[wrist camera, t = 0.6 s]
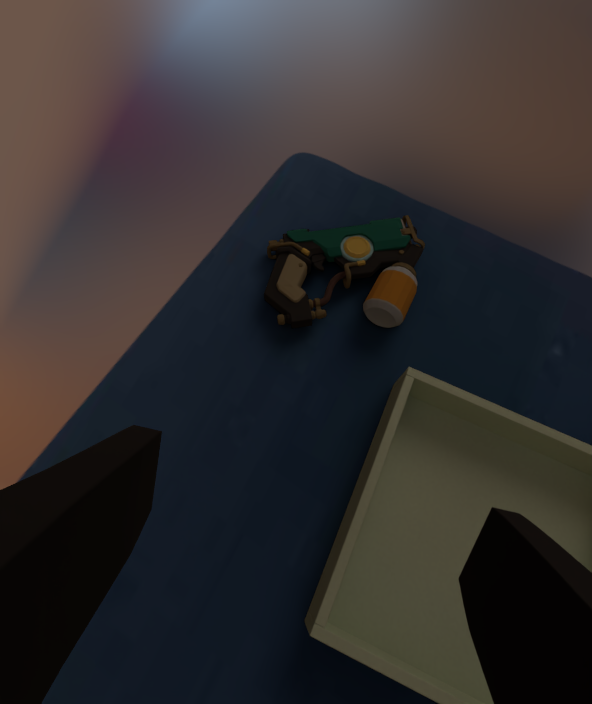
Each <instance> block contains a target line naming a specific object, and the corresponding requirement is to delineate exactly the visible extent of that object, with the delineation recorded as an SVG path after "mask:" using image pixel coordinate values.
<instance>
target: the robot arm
mask: <svg viewBox="0 0 592 704" xmlns="http://www.w3.org/2000/svg"><path fill="white" fill-rule="evenodd" d="M161 434H162V431H158V430H153V429H149V428H145V427H140V426H136V425H133V426H131V427H128V428H126V429H124V430H122V431H120V432H118V433H116V434H114V435H113V436H111V437H109V438H107V439H105V440H103V441H101V442H99V443H97V444H95V445H93V446H92V447H90V448H88V449H86V450H84V451H82V452H80V453H78V454H76V455H74V456H72V457H70V458H68V459H66V460H64V461H62V462H60V463H58V464H56V465H54V466H52V467H50V468H48V469H46V470H44V471H42V472H39V473H37V474H35V475H33V476H31V477H28V478H26V479H24V480H22V481H20V482H17V483H15V484H13V485H11V486H9V487H6V488H4V489H2V490H0V704H41V703H42V701H43V699H44V697H45V696H46V694H47V692H48V690H49V689H50V687H51V685H52V683H53V682H54V680H55V678H56V676H57V674H58V673H59V671H60V669H61V667H62V666H63V664H64V663H65V661H66V659H67V658H68V656H69V654H70V653H71V651H72V650H73V648H74V646H75V645H76V643H77V641H78V640H79V638H80V636H81V635H82V633H83V632H84V630H85V628H86V627H87V625H88V623H89V622H90V620H91V618H92V617H93V615H94V614H95V612H96V610H97V609H98V607H99V605H100V604H101V602H102V601H103V599H104V597H105V596H106V594H107V592H108V591H109V589H110V587H111V586H112V584H113V582H114V581H115V579H116V578H117V576H118V574H119V573H120V571H121V569H122V568H123V566H124V564H125V563H126V561H127V559H128V558H129V556H130V554H131V552H132V550H133V548H134V546H135V544H136V542H137V540H138V537H139V535H140V533H141V531H142V529H143V527H144V524H145V522H146V520H147V518H148V516H149V513H150V511H151V509H152V501H153V494H154V486H155V479H156V472H157V464H158V457H159V449H160V442H161ZM458 579H459V584H460V590H461V595H462V600H463V605H464V610H465V614H466V619H467V623H468V627H469V631H470V634H471V637H472V640H473V644H474V647H475V650H476V653H477V656H478V659H479V662H480V665H481V668H482V671H483V674H484V677H485V679H486V682H487V685H488V688H489V691H490V694H491V697H492V700H493V703H494V704H592V572H590V571H589V570H588V569H587V568H586V567H585V566H583V565H582V564H581V563H580V562H579V561H578V560H576V559H575V558H574V557H573V556H572V555H571V554H569V553H568V552H567V551H566V550H565V549H564V548H562V547H561V546H560V545H559V544H558V543H557V542H555V541H554V540H553V539H552V538H551V537H549V536H548V535H547V534H546V533H545V532H543V531H542V530H541V529H540V528H538V527H537V526H536V525H535V524H533V523H532V522H531V521H529V520H528V519H527V518H525V517H524V516H523V515H521V514H520V513H516V512H511V511H507V510H503V509H498V508H494V507H492V508H491V510H490V512H489V514H488V516H487V519H486V521H485V523H484V525H483V527H482V529H481V531H480V533H479V536H478V538H477V540H476V542H475V544H474V546H473V548H472V550H471V553H470V555H469V557H468V559H467V561H466V563H465V565H464V567H463V570H462V572H461V574H460V576H459V578H458Z"/></svg>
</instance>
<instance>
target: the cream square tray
mask: <svg viewBox="0 0 592 704" xmlns="http://www.w3.org/2000/svg"><path fill="white" fill-rule="evenodd" d="M492 507H494V508H498V509H503V510H507V511H511V512H516V513H520V514H521V515H523V516H524V517H525V518H527V519H528V520H529V521H531V522H532V523H533V524H535V525H536V526H537V527H538V528H540V529H541V530H542V531H543V532H545V533H546V534H547V535H548V536H549V537H551V538H552V539H553V540H554V541H555V542H557V543H558V544H559V545H560V546H561V547H562V548H564V549H565V550H566V551H567V552H568V553H569V554H571V555H572V556H573V557H574V558H575V559H576V560H578V561H579V562H580V563H581V564H582V565H583V566H585V567H586V568H587V569H588V570H589V571H590V572H592V446H591V445H588V444H586V443H584V442H581V441H579V440H577V439H575V438H572V437H570V436H568V435H565V434H563V433H561V432H558V431H556V430H554V429H551V428H549V427H547V426H545V425H542V424H540V423H538V422H535V421H533V420H531V419H528V418H526V417H524V416H521V415H519V414H517V413H515V412H512V411H510V410H508V409H505V408H503V407H501V406H498V405H496V404H494V403H492V402H489V401H487V400H485V399H482V398H480V397H478V396H475V395H473V394H471V393H468V392H466V391H464V390H462V389H459V388H457V387H455V386H452V385H450V384H448V383H445V382H443V381H441V380H438V379H436V378H434V377H432V376H429V375H427V374H425V373H422V372H420V371H418V370H415V369H413V368H411V367H408V368H407V370H406V371H405V372H404V373H403V374H402V375H401V377H400V378H399V379H398V380H397V381H396V382H395V384H394V385H393V388H392V390H391V393H390V396H389V398H388V401H387V404H386V406H385V409H384V412H383V414H382V417H381V419H380V422H379V425H378V427H377V430H376V433H375V435H374V438H373V441H372V443H371V446H370V449H369V451H368V454H367V456H366V459H365V462H364V464H363V467H362V470H361V472H360V475H359V478H358V480H357V483H356V486H355V488H354V491H353V494H352V496H351V499H350V501H349V504H348V507H347V509H346V512H345V515H344V517H343V520H342V523H341V525H340V528H339V531H338V533H337V536H336V539H335V541H334V544H333V546H332V549H331V552H330V554H329V557H328V560H327V562H326V565H325V568H324V570H323V573H322V576H321V578H320V581H319V583H318V586H317V589H316V591H315V594H314V597H313V599H312V602H311V605H310V607H309V610H308V613H307V615H306V618H305V621H304V622H305V624H306V627H307V629H308V632H309V635H310V636H311V637H313V638H315V639H317V640H319V641H321V642H322V643H324V644H326V645H328V646H330V647H332V648H334V649H336V650H338V651H340V652H342V653H343V654H345V655H347V656H349V657H351V658H353V659H355V660H357V661H359V662H361V663H362V664H364V665H366V666H368V667H370V668H372V669H374V670H376V671H378V672H380V673H382V674H383V675H385V676H387V677H389V678H391V679H393V680H395V681H397V682H399V683H401V684H402V685H404V686H406V687H408V688H410V689H412V690H414V691H416V692H418V693H420V694H422V695H423V696H425V697H427V698H429V699H431V700H433V701H435V702H437V703H439V704H494V703H493V700H492V697H491V694H490V691H489V688H488V685H487V682H486V679H485V677H484V674H483V671H482V668H481V665H480V662H479V659H478V656H477V653H476V650H475V647H474V644H473V640H472V637H471V634H470V631H469V627H468V623H467V619H466V614H465V610H464V605H463V600H462V595H461V590H460V584H459V579H458V578H459V576H460V574H461V572H462V570H463V567H464V565H465V563H466V561H467V559H468V557H469V555H470V553H471V550H472V548H473V546H474V544H475V542H476V540H477V538H478V536H479V533H480V531H481V529H482V527H483V525H484V523H485V521H486V519H487V516H488V514H489V512H490V510H491V508H492Z"/></svg>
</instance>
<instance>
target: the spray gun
mask: <svg viewBox="0 0 592 704" xmlns="http://www.w3.org/2000/svg"><path fill="white" fill-rule="evenodd" d="M406 221H407V224H408V227H406V226H405V224H406ZM416 234H417V230H416V228H415V227H413V226H412V223H411V220H410V218H409V216H408V215H407V216H403V219H400V218H392V219H384V220H376V221H371V222H370V224H366V225H358V226H350V227H343V228H335V229H327V230H320V231H312V232H309V229H307V230H306V229H300V230H292V231H287V234H283V239H280V241H279V242H277V241H276V240H273V241H269V246H268V248H267V254H268V257H269V258H270V259H276V263H275V266H274V268H273V271H272V273H271V276H270V279H269V282H268V284H267V287H266V290H265V293H264V297H265V301H266V302H268V303H269V304H270V305H271V306H273V307H274V308H275V309H276V310H278V311H279V312H280V313H281V314H280V315H278V316H277V320H278V324H279V325H284V324H285V323H288V324H290V323H291V327H292V328H298V327H304V326H311V325H312V319H315V318H318V319H321V318H323V317H326V311H325V310H321V307H320V306H323V305H325V304H327V303H328V302H329V300H330V298H331V295H332V291H333V289H334V286H335V285H336V283H337V282H338V281H339V280H341V279H343V284H344V287H345V288H347V289H348V288H349V287H350V284H351V279H358V278H366V277H371V276H372V275H373V274H374V273H375V272H376V271H377V270H378V269H380V268H385V267H388V268H386V269H384V270H383V271H382V272H381V274H380V275H379V277H378V278H377V280H376V282H375V284H374V286H373V287H372V289H371V291H370V293H369V295H368V296H367V298H366V300H365V302H364V304H363V311H364V312H365V314H366V316H367V318H368V319H369V320H370V321H371V322H373V323H374V324H376V325H378V326H381V327H387V328H390V327H395V326H399V325H400V324H401V323H402V322H403V320H404V318H405V316H406V314H407V311H408V309H409V307H410V305H411V303H412V300H413V298H414V296H415V294H416V290H417V280H416V272H415V270H414V269H413V268H414V266H415V265H416V263H417V261H418V259H419V257H420V256H421V254H422V251H423V249H424V246H425V243H424V242H423V241H422V240H420V239H418V238H417V236H416ZM411 238H413V240H414V241H415V242H417V243H419V244H420V245H421V247H420V246H419V245H418V244H416V245H414V244H411V241H410V239H411ZM271 251H276V255H271ZM326 260H327V261H328V262H336V263H337V264H338V265H340V266H341V267H342V268H343V269H344V270H345V271H343V272H340V273H338V274H336V275H335V276H334V277H333V278H332V279H331V280H330V282H329V284H328V286H327V288H326V291H325V295H324V297H323V298H322V299H320V300H319V298H316V299H314V301H312V300H311V299H309V300H308V295H307V294H306V293H305V291H304V290H303V289H301V286H302V284H303V282H304V280H305V278H306V275H307V274H310V269H311V263H312V265H313V266H314V267H315V268H316V269H317V270H319V271H322V272H323V271H324V267H323V266H322V264H323V263H324V262H325V261H326ZM390 266H391V267H390ZM313 307H315V308H316V311H315V312H314V311H311V310H312V309H313Z"/></svg>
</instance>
